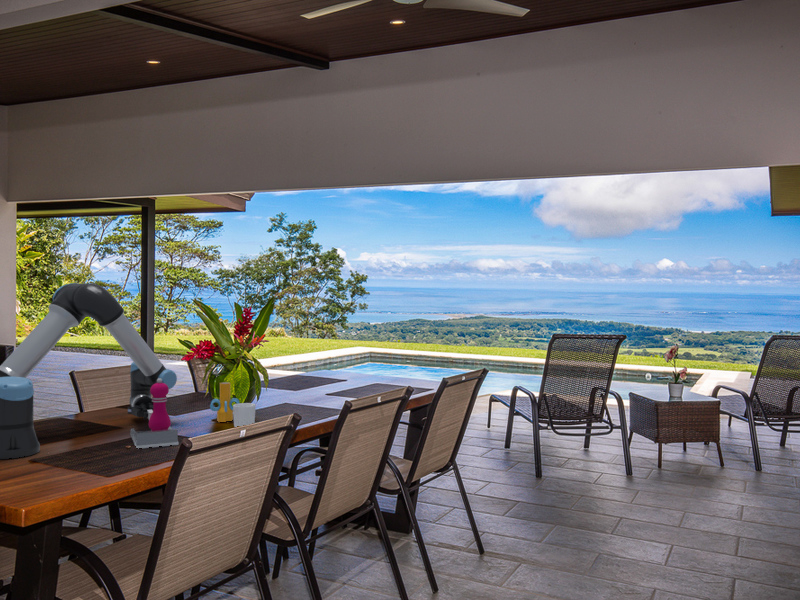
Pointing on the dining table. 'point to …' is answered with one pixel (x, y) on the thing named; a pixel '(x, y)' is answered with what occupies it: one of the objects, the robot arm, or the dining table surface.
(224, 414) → the yellow post with rings
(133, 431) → the grey tray
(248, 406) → the white cup
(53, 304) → the robot arm
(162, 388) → the pepper mill
